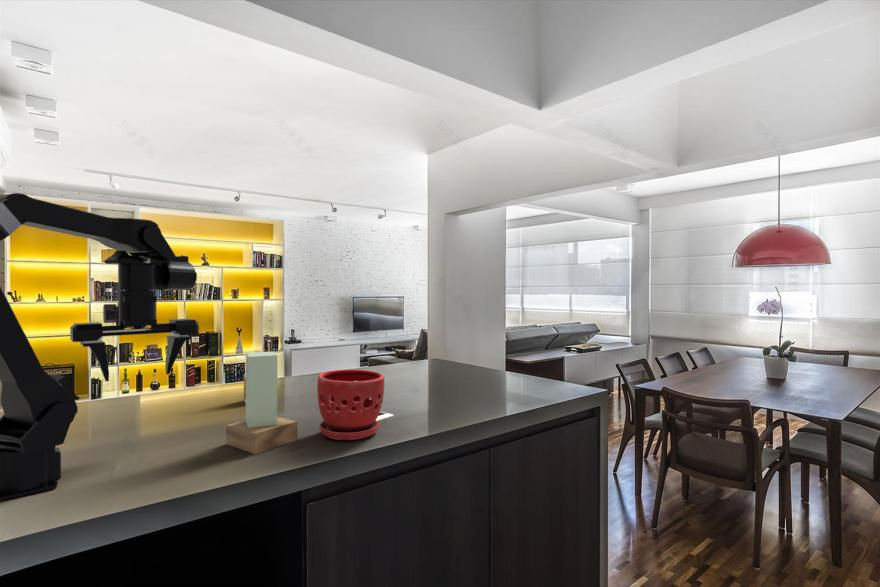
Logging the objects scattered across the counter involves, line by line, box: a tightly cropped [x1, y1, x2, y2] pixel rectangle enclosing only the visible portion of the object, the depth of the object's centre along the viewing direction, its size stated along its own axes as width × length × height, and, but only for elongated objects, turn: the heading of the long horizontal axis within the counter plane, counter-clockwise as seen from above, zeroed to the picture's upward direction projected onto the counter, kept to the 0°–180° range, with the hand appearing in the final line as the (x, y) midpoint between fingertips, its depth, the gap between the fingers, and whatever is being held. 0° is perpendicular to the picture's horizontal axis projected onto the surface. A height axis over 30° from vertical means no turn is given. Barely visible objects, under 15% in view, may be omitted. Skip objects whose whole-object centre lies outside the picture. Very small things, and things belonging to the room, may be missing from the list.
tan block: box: [225, 415, 298, 455], centre depth 87 cm, size 9×9×4 cm
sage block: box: [245, 351, 278, 428], centre depth 87 cm, size 5×5×13 cm
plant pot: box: [316, 369, 385, 441], centre depth 92 cm, size 13×13×12 cm
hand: (138, 377), depth 82 cm, fingers open, 9 cm apart
